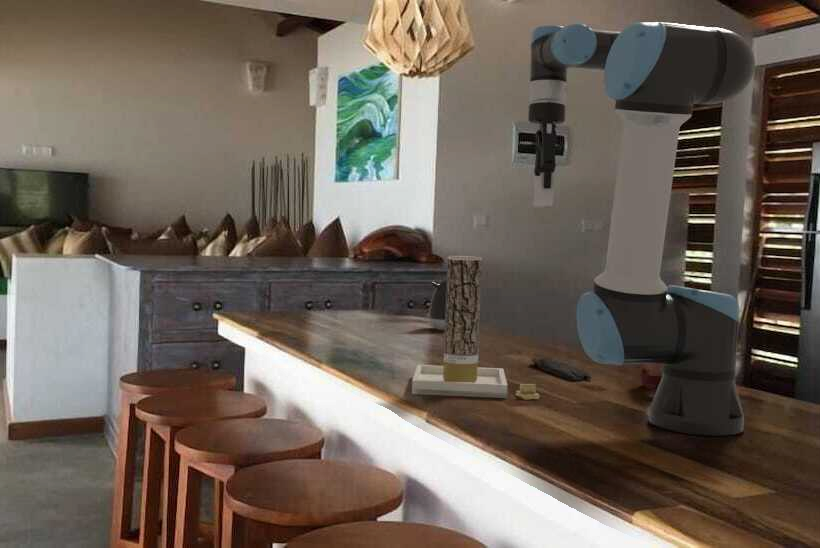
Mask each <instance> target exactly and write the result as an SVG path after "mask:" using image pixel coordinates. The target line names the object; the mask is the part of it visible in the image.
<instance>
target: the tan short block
mask: <svg viewBox="0 0 820 548" xmlns="http://www.w3.org/2000/svg"><path fill="white" fill-rule="evenodd" d="M536 390H537V384H536V383H520V384H519V390H515V396H516V397H518V398H520V399H522V400H528V401H529V400H531V399H532V400H533V399H534V400H540V394H539V393H537V391H536ZM532 400H531V401H532Z"/></svg>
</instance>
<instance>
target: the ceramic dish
mask: <svg viewBox="0 0 820 548" xmlns="http://www.w3.org/2000/svg"><path fill="white" fill-rule="evenodd" d="M443 368H444V365H432V364H431V365H430V364H417V365H416V368H415V371H414V374H413V378H412V380H411V395H427V396H428V395H430V396H431V395H432V396H448V397H449V396H451V397H470V398H471V397H473V398H493V399H495V398H496V399H508V382H507V381H508V380H507V377H506V374H505V370H504V368H502V367H501V368H500V367H499V368H498V367H479V366H477V380H476V382H475V383H470V382H448V381H445V380H444V379H443Z"/></svg>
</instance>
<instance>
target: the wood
mask: <svg viewBox="0 0 820 548" xmlns="http://www.w3.org/2000/svg"><path fill="white" fill-rule="evenodd" d="M530 360H531V361H532V362H533V364H534V365H535V364H536V366H537V367H539V369H540V370H542V371H543V372H546V371H547V373H550V374H553V375H555V376H557V377H559V378H563V379H565V380H567V381H569V382H571V381H572V382H573V383H581V382H580V381H583V382H592V380H591V376H590V374H589V373H588V372H587V371H585V370H581V369H580V368H577V367H574V366H573V365H569V364H567V363H564V362H558V361H557V360H553V359H551V358H549V357H546V356H545V357H542V358H540V357H538V358H537V357H532V358H530Z"/></svg>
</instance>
